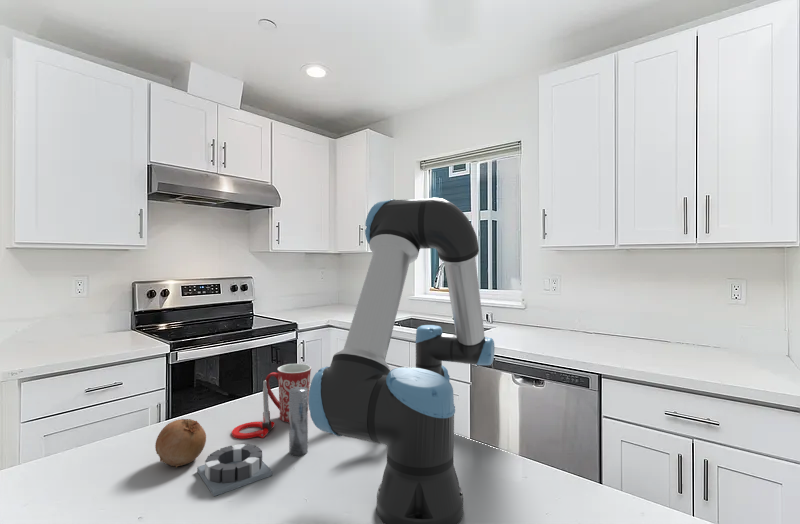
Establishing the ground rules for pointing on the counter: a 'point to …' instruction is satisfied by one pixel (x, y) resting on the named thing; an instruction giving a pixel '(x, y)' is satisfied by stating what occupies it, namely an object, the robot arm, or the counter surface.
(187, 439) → the onion
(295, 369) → the mug
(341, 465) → the counter surface
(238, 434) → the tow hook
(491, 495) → the counter surface
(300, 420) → the steel rod
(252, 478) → the chuck
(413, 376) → the robot arm
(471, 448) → the counter surface
